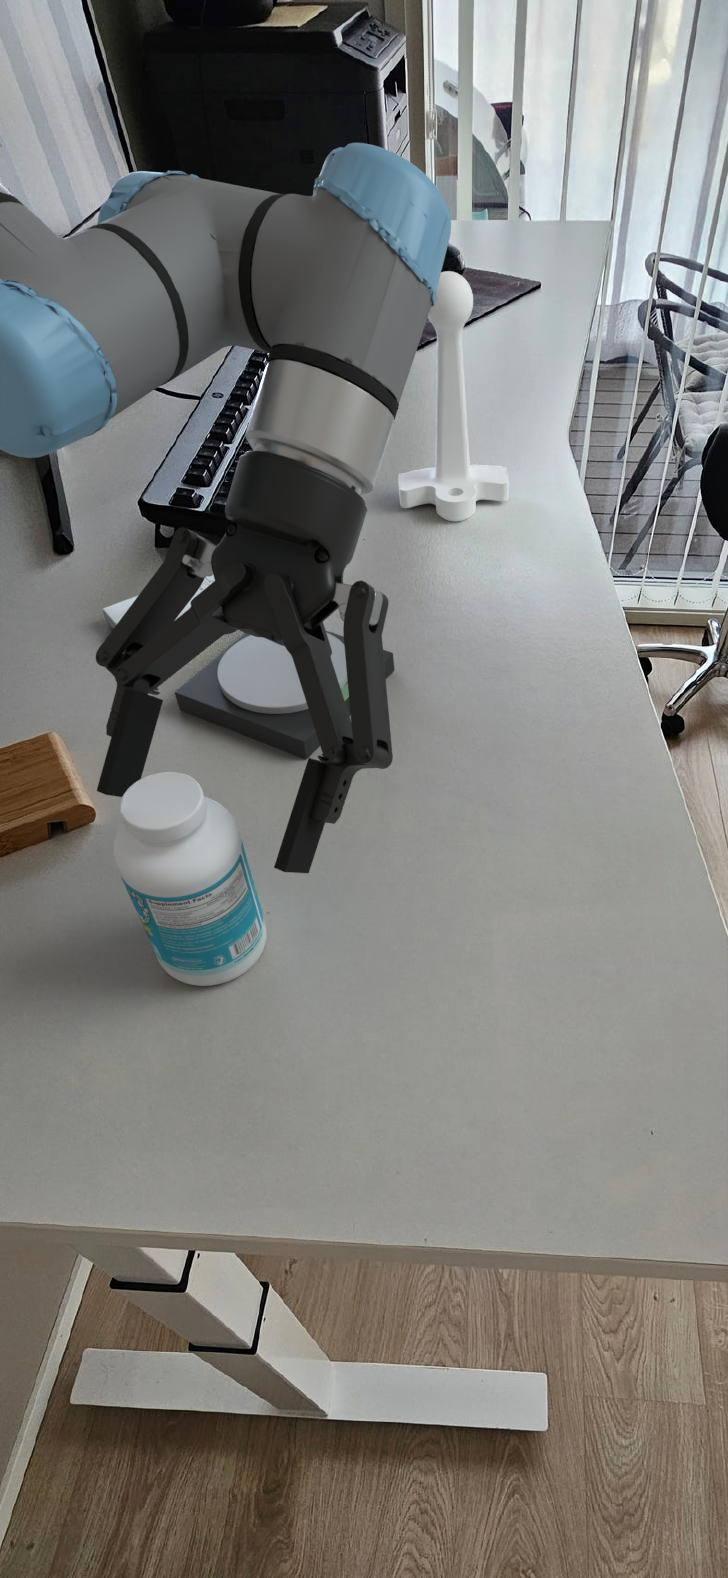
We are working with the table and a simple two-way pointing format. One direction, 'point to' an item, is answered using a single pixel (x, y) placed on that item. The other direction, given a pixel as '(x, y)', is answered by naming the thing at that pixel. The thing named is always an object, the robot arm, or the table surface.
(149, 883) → the pill bottle
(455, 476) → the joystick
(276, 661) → the scale
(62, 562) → the table surface
